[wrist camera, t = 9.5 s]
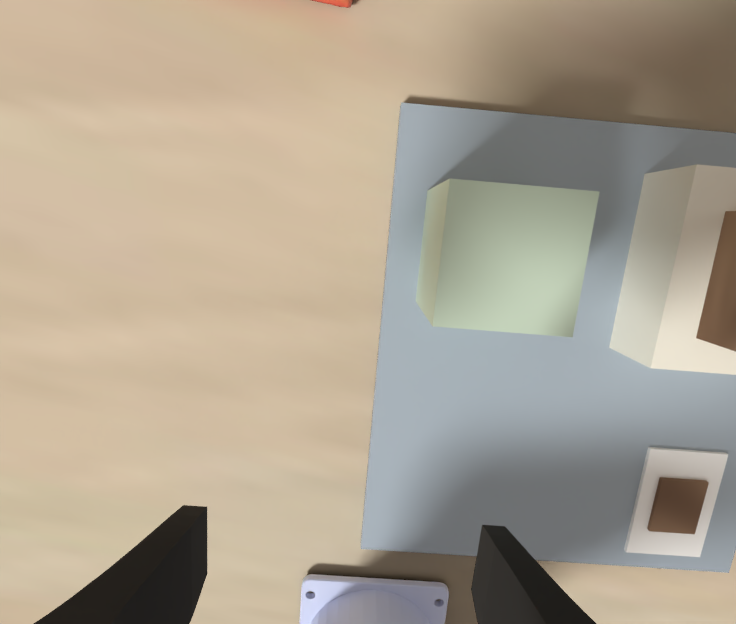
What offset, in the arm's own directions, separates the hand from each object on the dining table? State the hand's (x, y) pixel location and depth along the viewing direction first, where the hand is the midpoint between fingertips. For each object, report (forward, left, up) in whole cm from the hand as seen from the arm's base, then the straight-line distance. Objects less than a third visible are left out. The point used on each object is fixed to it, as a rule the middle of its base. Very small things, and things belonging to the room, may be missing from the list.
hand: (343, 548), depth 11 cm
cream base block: (+7, -16, -10) cm, 20 cm away
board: (+2, -11, -10) cm, 15 cm away
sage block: (+7, -5, -10) cm, 13 cm away
